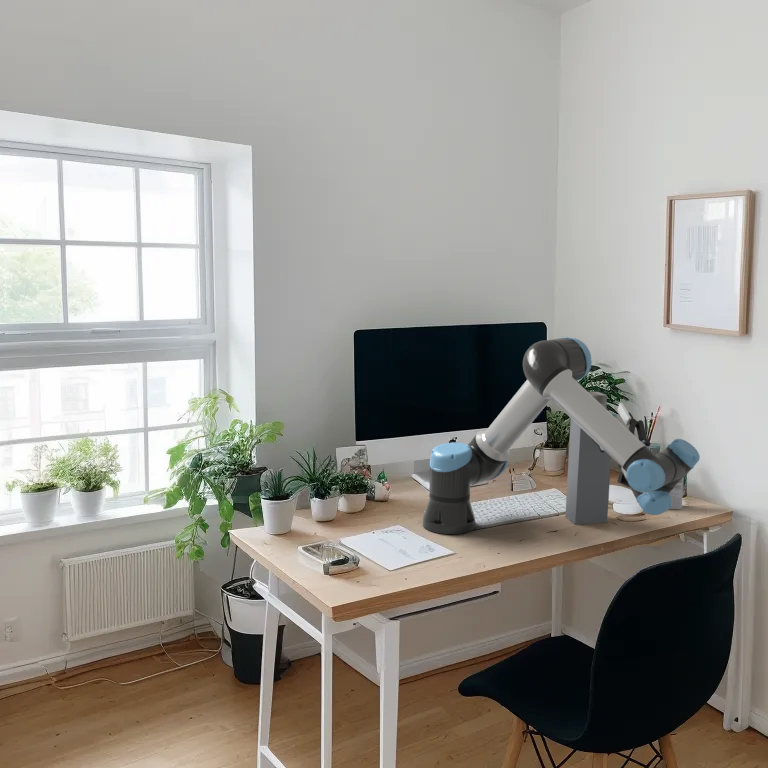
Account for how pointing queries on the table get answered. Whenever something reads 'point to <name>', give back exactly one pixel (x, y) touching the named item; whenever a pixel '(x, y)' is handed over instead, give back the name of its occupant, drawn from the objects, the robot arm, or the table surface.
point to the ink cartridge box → (677, 495)
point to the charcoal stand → (587, 479)
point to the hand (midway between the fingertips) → (603, 406)
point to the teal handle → (601, 400)
